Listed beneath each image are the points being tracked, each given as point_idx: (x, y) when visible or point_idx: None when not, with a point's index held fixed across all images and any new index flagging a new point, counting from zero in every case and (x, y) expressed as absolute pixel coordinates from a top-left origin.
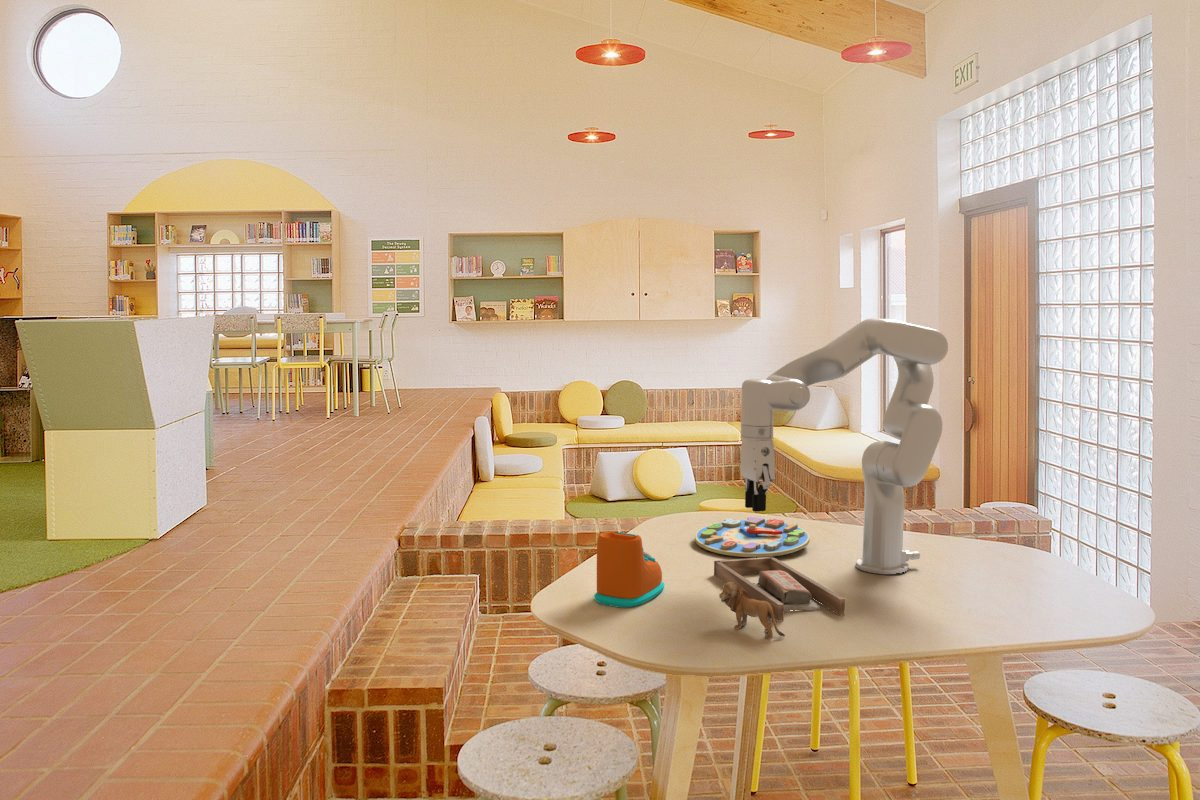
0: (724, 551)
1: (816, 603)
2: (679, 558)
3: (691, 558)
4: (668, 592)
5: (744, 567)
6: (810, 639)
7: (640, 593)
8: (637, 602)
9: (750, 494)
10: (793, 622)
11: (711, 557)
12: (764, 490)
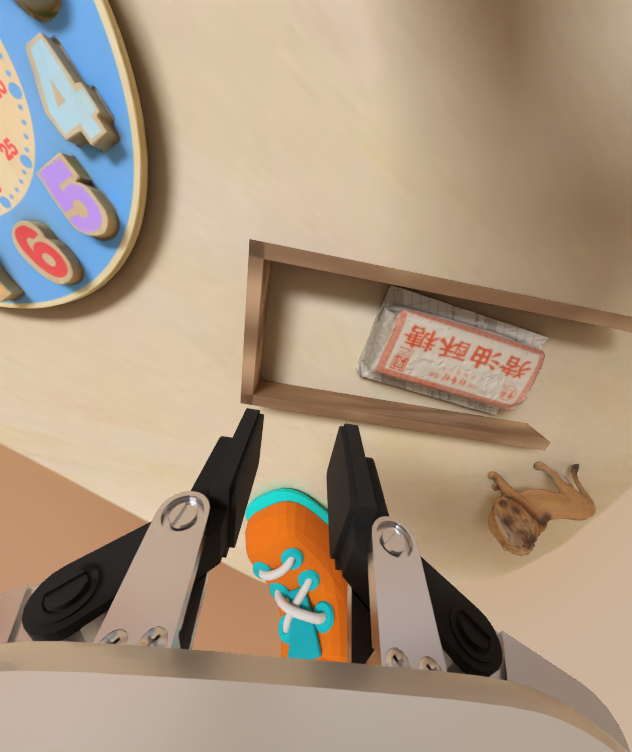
0: (95, 288)
1: (534, 333)
2: (108, 384)
3: (111, 363)
4: (311, 487)
5: (261, 333)
6: (609, 435)
7: None
8: None
9: (239, 515)
10: (544, 415)
11: (105, 317)
12: (440, 594)
